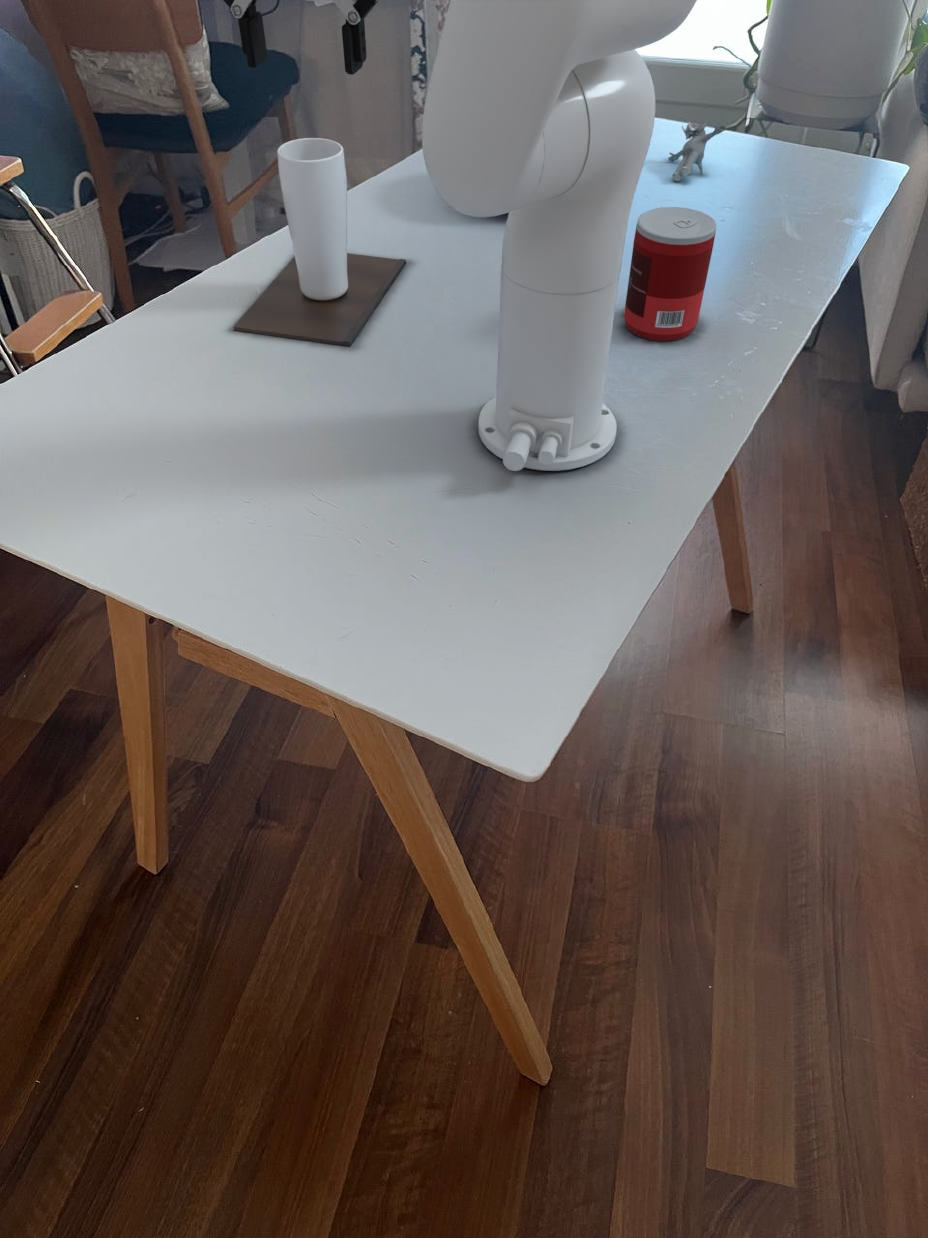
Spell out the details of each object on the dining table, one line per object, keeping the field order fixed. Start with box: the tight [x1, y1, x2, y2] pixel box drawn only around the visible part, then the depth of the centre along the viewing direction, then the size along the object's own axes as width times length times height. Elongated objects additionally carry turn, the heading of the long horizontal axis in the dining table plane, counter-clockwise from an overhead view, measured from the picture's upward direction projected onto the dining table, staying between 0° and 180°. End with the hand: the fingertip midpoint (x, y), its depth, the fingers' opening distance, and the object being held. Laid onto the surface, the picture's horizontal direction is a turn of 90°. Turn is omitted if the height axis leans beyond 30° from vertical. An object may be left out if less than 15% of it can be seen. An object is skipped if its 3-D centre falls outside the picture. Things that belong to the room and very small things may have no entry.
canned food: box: [623, 206, 717, 342], centre depth 96 cm, size 8×8×11 cm
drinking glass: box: [276, 137, 348, 301], centre depth 99 cm, size 7×7×15 cm
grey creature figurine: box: [667, 120, 727, 183], centre depth 129 cm, size 10×6×9 cm
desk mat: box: [232, 252, 407, 347], centre depth 104 cm, size 20×13×1 cm, turn 166°
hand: (305, 67), depth 88 cm, fingers open, 9 cm apart
